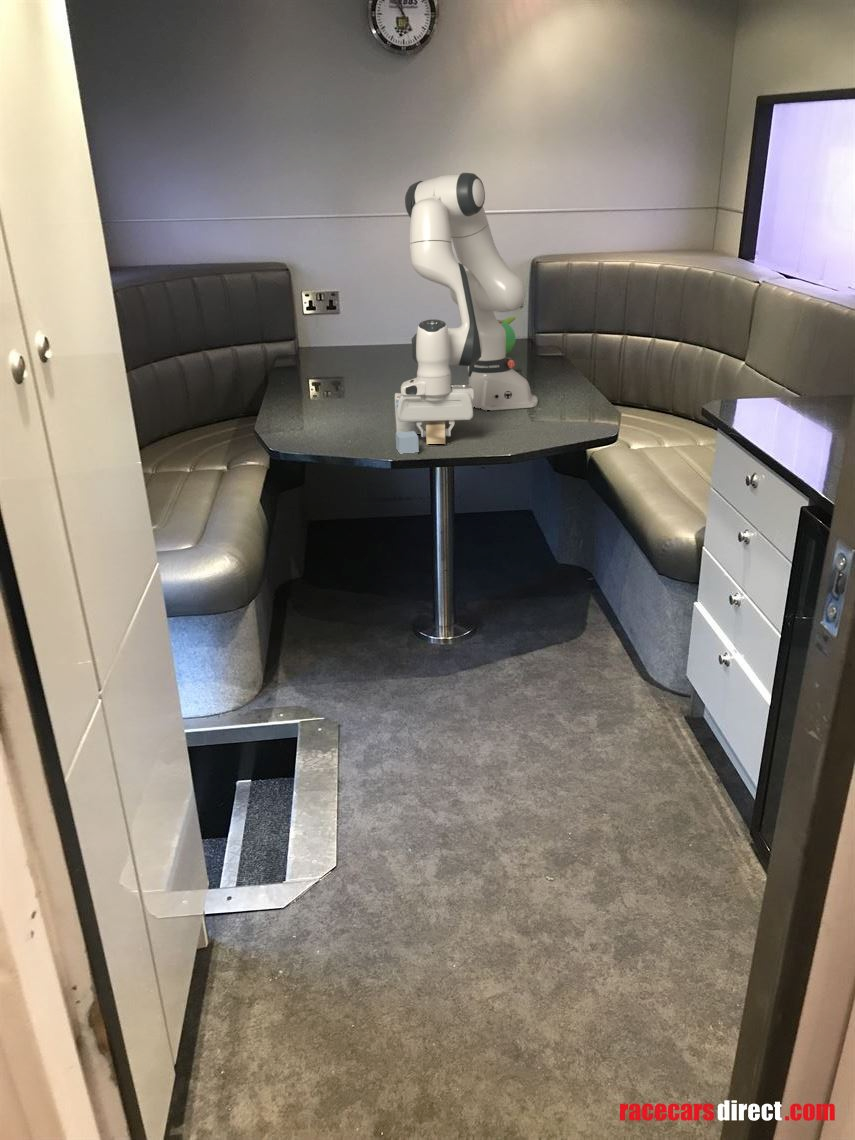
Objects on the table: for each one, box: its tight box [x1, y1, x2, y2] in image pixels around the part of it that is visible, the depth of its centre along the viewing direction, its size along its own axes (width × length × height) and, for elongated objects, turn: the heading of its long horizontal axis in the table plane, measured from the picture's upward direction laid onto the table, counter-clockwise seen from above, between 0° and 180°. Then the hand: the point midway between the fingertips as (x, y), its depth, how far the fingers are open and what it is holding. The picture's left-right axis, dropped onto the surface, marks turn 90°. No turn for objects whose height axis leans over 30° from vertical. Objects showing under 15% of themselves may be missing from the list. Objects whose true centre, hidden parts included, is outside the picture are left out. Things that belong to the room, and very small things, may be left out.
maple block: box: [425, 420, 447, 445], centre depth 236 cm, size 5×5×5 cm
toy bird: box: [497, 316, 516, 355], centre depth 331 cm, size 18×17×15 cm
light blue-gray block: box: [395, 431, 420, 454], centre depth 229 cm, size 5×5×5 cm
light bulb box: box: [394, 392, 434, 434], centre depth 245 cm, size 11×7×11 cm, turn 92°
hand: (436, 436), depth 236 cm, fingers closed on maple block, 5 cm apart
